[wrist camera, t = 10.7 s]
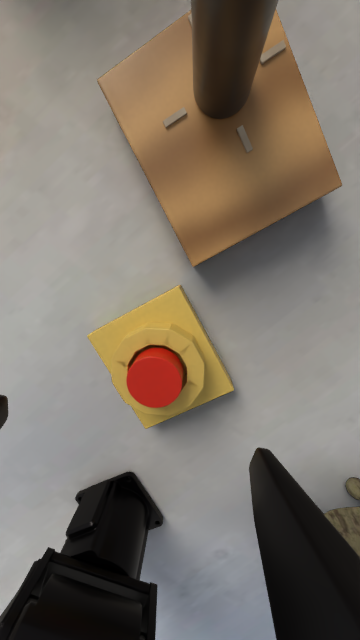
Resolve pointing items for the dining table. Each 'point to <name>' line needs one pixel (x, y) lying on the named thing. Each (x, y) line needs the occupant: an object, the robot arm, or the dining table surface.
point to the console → (220, 141)
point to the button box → (168, 333)
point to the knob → (227, 51)
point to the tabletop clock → (348, 517)
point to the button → (155, 378)
